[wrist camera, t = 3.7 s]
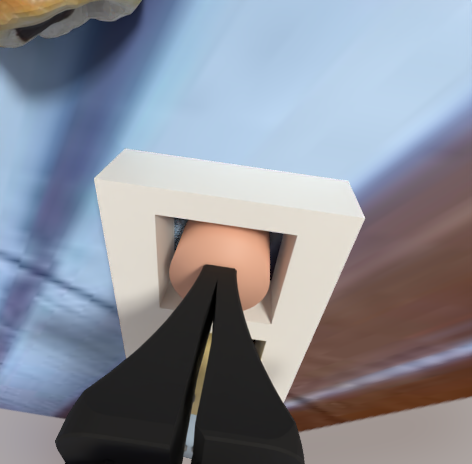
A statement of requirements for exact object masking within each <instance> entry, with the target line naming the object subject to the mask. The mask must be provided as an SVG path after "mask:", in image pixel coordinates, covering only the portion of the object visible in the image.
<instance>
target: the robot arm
mask: <svg viewBox="0 0 472 464" xmlns="http://www.w3.org/2000/svg"><path fill="white" fill-rule="evenodd" d="M212 323H213V327H212V339H211V346H210V351H209V357H208V362H207V367H206V372H205V377H204V382H203V387H202V392H201V397H200V402H199V407H198V412H197V417H196V422H195V431H194V443H193V455H192V460H191V464H305V463H304V454H303V449H302V444H301V440H300V436H299V433H298V429H297V426H296V423H295V421H294V419H293V418H292V416H291V414H290V413H289V411H288V410H287V408H286V406H285V405H284V403H283V401H282V400H281V398H280V396H279V395H278V393H277V391H276V389H275V387H274V386H273V384H272V382H271V380H270V378H269V376H268V374H267V372H266V370H265V368H264V366H263V364H262V362H261V360H260V357H259V355H258V353H257V350H256V348H255V345H254V343H253V340H252V338H251V335H250V332H249V329H248V326H247V323H246V320H245V317H244V313H243V309H242V305H241V301H240V297H239V291H238V284H237V270H236V269H235V268H229V267H222V266H215V265H208V264H206V265H204V266H203V268H202V270H201V272H200V274H199V276H198V278H197V279H196V281H195V283H194V284H193V286H192V287H191V289H190V290H189V292H188V293H187V294H186V296H185V297H184V299H183V300H182V301H181V303H180V304H179V305H178V306H177V308H176V309H175V310H174V311H173V313H172V314H171V315H170V316H169V317H168V319H167V320H166V321H165V322H164V323H163V324H162V325H161V326H160V327H159V329H158V330H157V331H156V332H155V333H154V334H153V335H152V336H151V337H150V338H149V339H148V340H147V341H146V342H145V343H143V344H142V345H141V346H140V347H139V348H138V349H137V350H136V351H135V352H134V353H133V354H131V355H130V356H129V357H128V358H127V359H125V360H124V361H123V362H122V363H121V364H119V365H118V366H117V367H116V368H114V369H113V370H112V371H111V372H109V373H108V374H107V375H105V376H104V377H103V378H101V379H100V380H98V381H97V382H96V383H94V384H93V385H92V386H90V387H89V388H87V389H86V390H85V391H84V392H83V393H82V394H81V396H80V397H79V399H78V400H77V401H76V403H75V405H74V406H73V408H72V409H71V411H70V412H69V414H68V416H67V417H66V419H65V422H64V424H63V426H62V428H61V430H60V432H59V434H58V436H57V438H56V440H55V443H56V447H57V449H58V451H59V453H60V454H61V456H62V458H63V459H64V461H65V462H66V463H65V464H182V461H183V455H184V450H185V444H186V438H187V433H188V427H189V422H190V416H191V411H192V405H193V400H194V394H195V389H196V383H197V378H198V374H199V370H200V366H201V362H202V359H203V355H204V352H205V348H206V344H207V341H208V337H209V334H210V330H211V326H212Z"/></svg>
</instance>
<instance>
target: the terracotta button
mask: <svg viewBox="0 0 472 464" xmlns="http://www.w3.org/2000/svg"><path fill="white" fill-rule="evenodd" d="M206 264H208V265H215V266H222V267H229V268H235V269H236V270H237V284H238V291H239V297H240V301H241V305H242V309H243V311H244V310H247V309H250V308H252V307H253V306H255V305H257V304H258V303H259V302H260V301H261V300H262V299H263V298H264V297H265V295H266V294H267V292H268V289H269V285H270V234H269V231H264V230H257V229H250V228H243V227H237V226H230V225H223V224H216V223H209V222H202V221H196V220H189V219H188V221H187V223H186V225H185V228H184V231H183V233H182V236H181V238H180V241H179V243H178V246H177V248H176V251H175V254H174V256H173V259H172V261H171V264H170V268H169V276H170V281H171V283H172V286H173V287H174V289H175V290H176V292H177V293H178V294H179V295H180V296H181V297H182V298H183V299H184V297H185V296H186V294H187V293H188V292H189V290H190V289H191V287H192V286H193V284H194V283H195V281H196V279H197V278H198V276H199V274H200V272H201V270H202V268H203V266H204V265H206Z"/></svg>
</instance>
